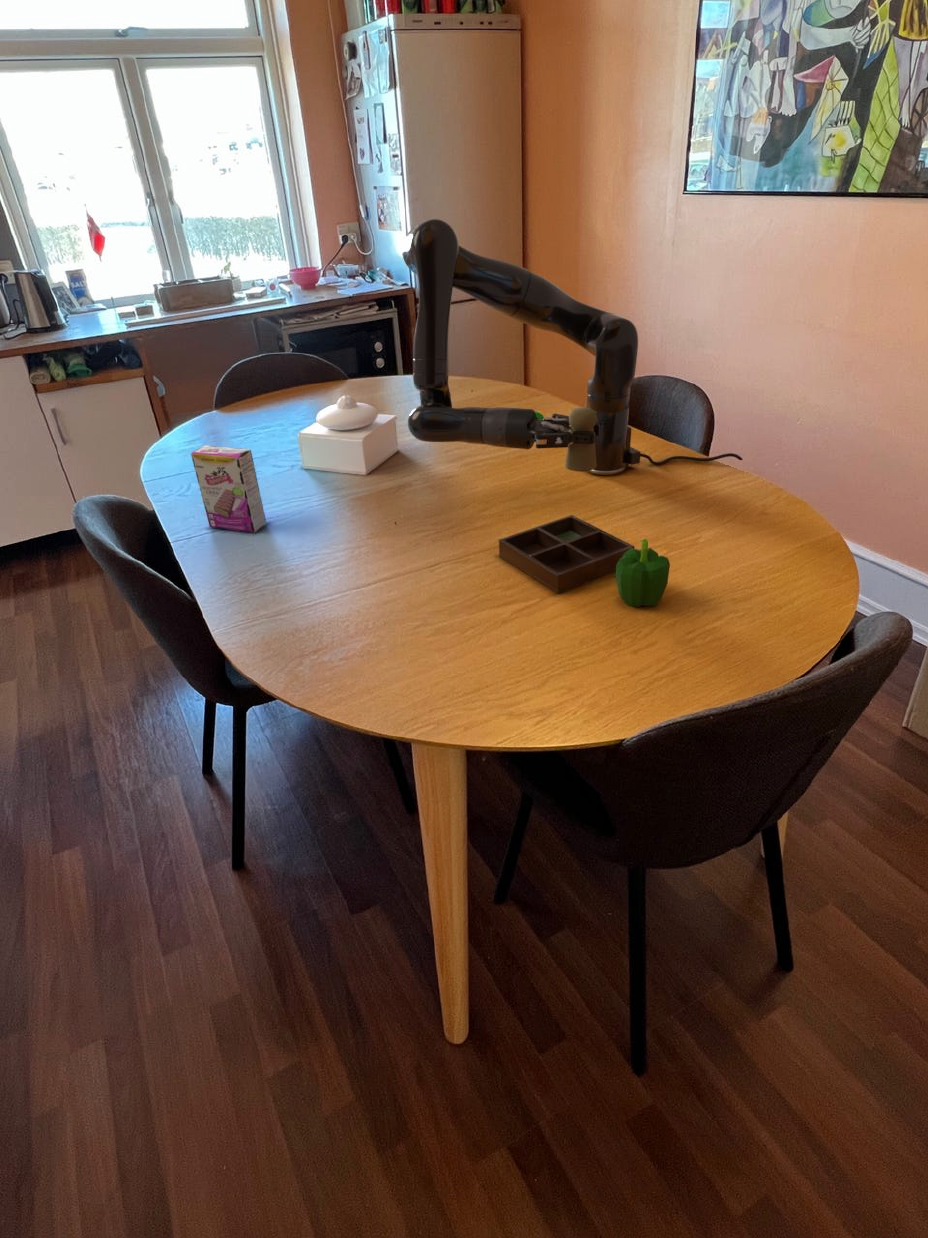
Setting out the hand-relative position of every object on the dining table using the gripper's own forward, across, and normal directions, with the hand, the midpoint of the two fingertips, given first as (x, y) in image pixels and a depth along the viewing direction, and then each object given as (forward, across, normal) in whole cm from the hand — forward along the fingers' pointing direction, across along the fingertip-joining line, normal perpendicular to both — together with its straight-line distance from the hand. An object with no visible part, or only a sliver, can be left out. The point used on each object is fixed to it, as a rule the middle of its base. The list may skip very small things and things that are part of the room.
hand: (596, 433), depth 139 cm
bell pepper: (+14, -29, +18) cm, 36 cm away
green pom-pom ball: (-26, +52, +18) cm, 60 cm away
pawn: (-3, 0, +7) cm, 7 cm away
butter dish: (-65, +22, +18) cm, 71 cm away
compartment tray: (-1, -18, +18) cm, 25 cm away
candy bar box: (-70, -20, +18) cm, 75 cm away
